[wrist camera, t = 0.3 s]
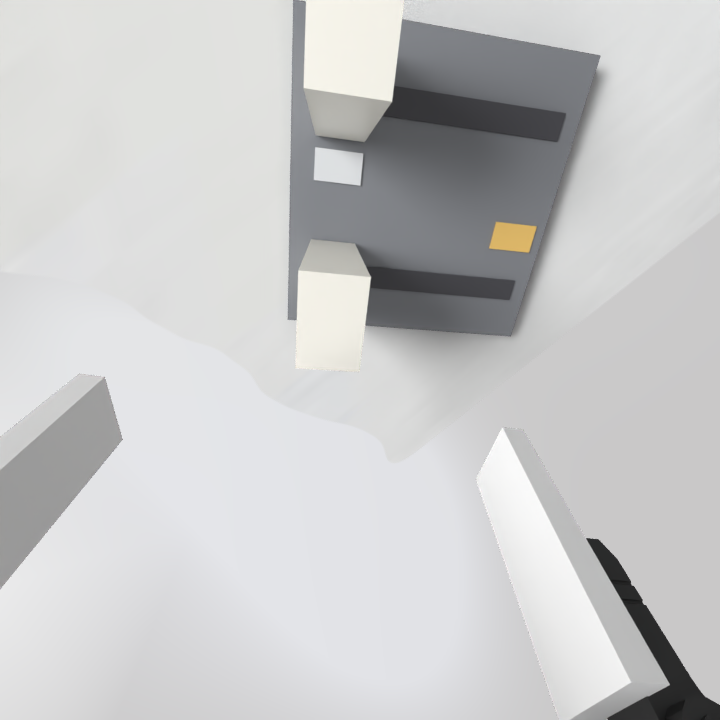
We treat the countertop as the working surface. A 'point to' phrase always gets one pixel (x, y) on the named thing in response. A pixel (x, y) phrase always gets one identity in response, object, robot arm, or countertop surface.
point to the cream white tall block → (331, 307)
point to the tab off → (350, 64)
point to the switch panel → (442, 176)
